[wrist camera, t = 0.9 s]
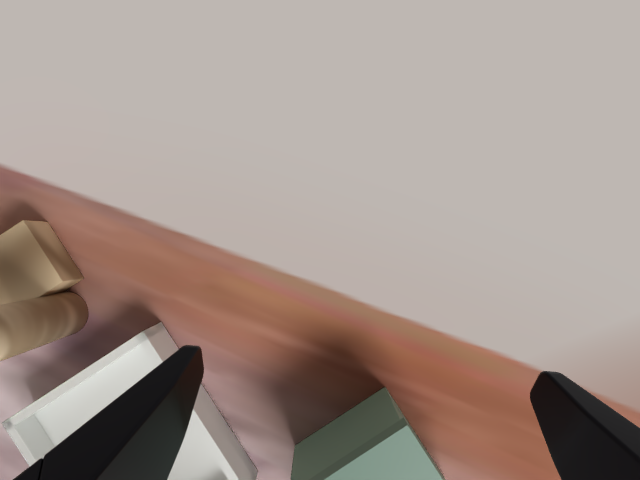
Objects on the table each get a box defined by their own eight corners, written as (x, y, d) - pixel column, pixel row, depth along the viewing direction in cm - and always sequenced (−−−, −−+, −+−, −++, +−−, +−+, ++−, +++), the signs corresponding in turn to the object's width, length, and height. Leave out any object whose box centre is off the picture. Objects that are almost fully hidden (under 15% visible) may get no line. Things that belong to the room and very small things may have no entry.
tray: (257, 471, 24) (250, 498, 22) (131, 554, 24) (109, 590, 22) (161, 321, 24) (142, 331, 22) (34, 404, 24) (1, 423, 22)
